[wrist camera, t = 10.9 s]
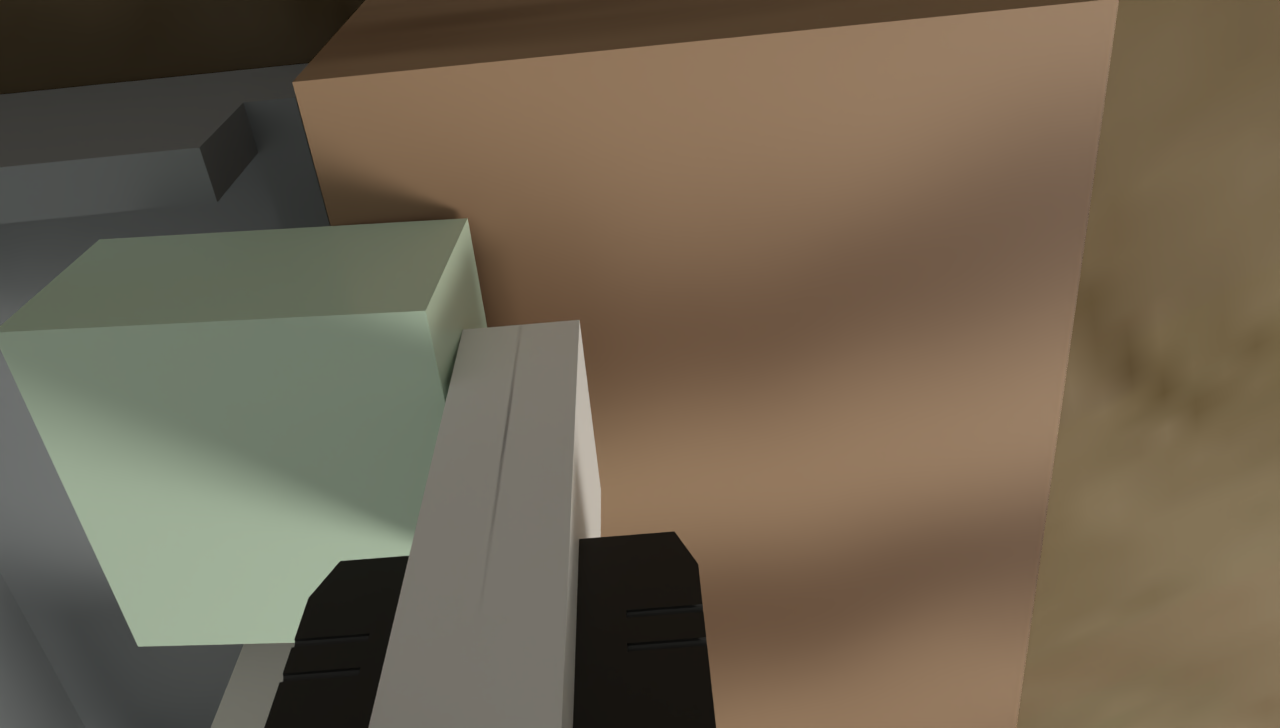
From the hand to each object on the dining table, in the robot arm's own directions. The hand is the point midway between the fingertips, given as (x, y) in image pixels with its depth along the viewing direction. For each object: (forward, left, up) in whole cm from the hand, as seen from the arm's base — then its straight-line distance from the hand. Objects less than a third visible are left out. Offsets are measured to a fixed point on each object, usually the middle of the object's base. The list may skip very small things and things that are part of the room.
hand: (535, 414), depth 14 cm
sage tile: (0, +3, -1) cm, 3 cm away
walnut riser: (-6, -3, -6) cm, 9 cm away
